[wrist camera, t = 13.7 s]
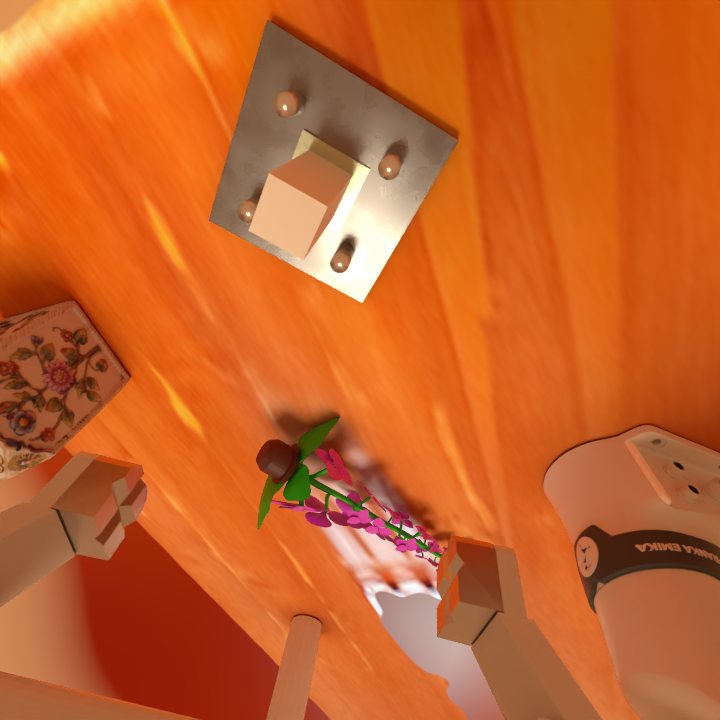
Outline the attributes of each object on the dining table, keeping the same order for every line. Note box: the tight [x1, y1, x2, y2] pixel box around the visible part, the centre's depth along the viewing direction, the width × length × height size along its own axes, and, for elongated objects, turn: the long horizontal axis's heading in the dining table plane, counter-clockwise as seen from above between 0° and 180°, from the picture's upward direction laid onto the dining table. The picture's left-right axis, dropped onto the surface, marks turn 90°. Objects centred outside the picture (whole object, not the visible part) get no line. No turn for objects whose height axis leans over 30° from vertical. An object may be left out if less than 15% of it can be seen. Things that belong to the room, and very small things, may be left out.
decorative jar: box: [0, 300, 130, 480], centre depth 44 cm, size 12×12×18 cm
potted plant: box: [256, 417, 448, 571], centre depth 54 cm, size 12×16×35 cm
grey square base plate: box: [209, 20, 458, 303], centre depth 34 cm, size 16×16×4 cm
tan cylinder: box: [266, 615, 322, 720], centre depth 74 cm, size 7×6×21 cm
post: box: [249, 150, 352, 260], centre depth 31 cm, size 4×4×10 cm
